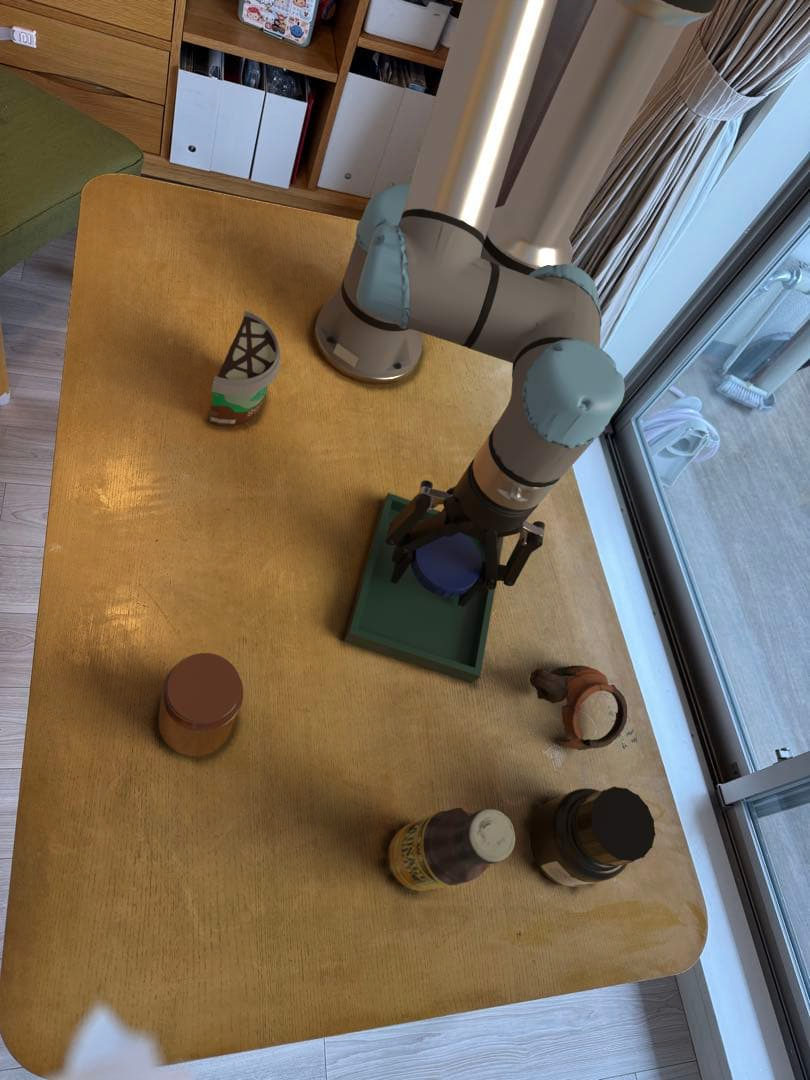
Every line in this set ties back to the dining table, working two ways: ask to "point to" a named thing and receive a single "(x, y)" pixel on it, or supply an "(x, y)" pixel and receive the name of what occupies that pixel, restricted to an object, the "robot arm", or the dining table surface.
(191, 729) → the jar
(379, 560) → the tray
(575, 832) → the ink bottle
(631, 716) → the dining table surface
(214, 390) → the food container
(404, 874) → the sauce bottle
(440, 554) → the lid
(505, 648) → the dining table surface
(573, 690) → the pottery mug
